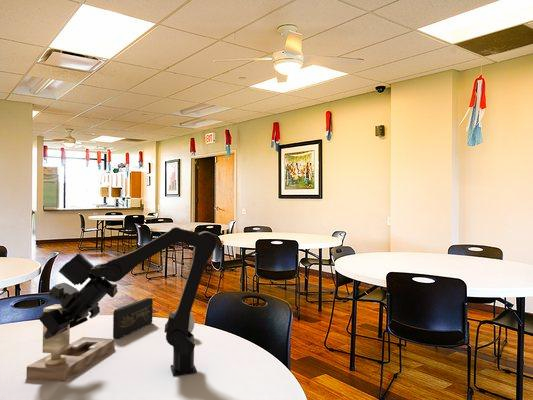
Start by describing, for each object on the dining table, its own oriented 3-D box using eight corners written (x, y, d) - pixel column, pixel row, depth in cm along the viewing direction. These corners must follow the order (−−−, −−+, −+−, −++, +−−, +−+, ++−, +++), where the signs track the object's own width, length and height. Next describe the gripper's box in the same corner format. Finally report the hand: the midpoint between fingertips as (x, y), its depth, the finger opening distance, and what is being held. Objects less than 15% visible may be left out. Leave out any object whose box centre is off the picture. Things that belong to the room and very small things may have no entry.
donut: (168, 334, 142) (169, 306, 142) (175, 332, 145) (176, 304, 145) (189, 340, 137) (190, 310, 137) (196, 337, 140) (196, 308, 140)
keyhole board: (64, 381, 103) (64, 369, 103) (26, 378, 105) (26, 366, 105) (114, 348, 127) (114, 339, 127) (83, 346, 129) (83, 336, 129)
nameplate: (148, 322, 157) (148, 297, 157) (152, 323, 156) (152, 297, 157) (112, 339, 137) (113, 310, 137) (117, 339, 136) (118, 310, 137)
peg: (58, 366, 105) (59, 309, 106) (41, 365, 106) (42, 308, 106) (70, 359, 110) (71, 304, 110) (53, 358, 111) (54, 303, 111)
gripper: (91, 268, 117) (56, 304, 119) (46, 280, 99) (6, 322, 100) (115, 296, 116) (80, 332, 117) (74, 313, 97) (33, 355, 99)
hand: (51, 334), depth 108 cm, fingers closed on peg, 5 cm apart
